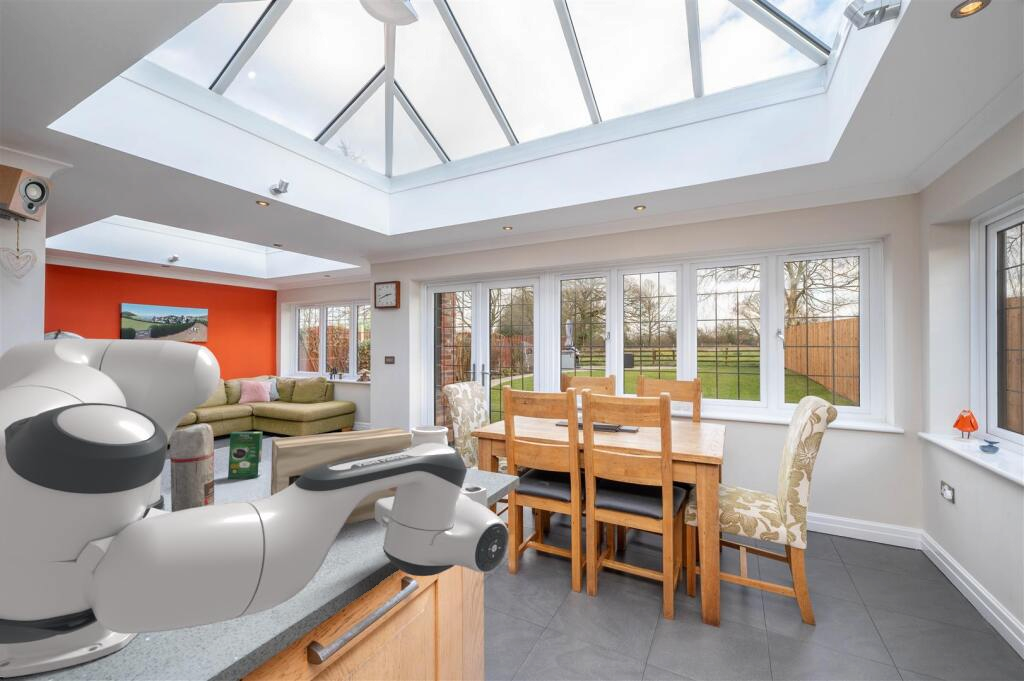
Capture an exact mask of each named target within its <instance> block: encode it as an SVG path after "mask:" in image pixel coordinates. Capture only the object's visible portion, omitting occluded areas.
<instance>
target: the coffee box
mask: <svg viewBox="0 0 1024 681" xmlns="http://www.w3.org/2000/svg"><path fill="white" fill-rule="evenodd" d="M262 450H263V431H232V432H230V437H229V449H228V452H229V454H228V455H229V456H228V468H227V469H228V470H227V471H228V472H227V473H228V474H227V475H228V476H227V479H235V478H236V479H248V478H249V479H255V478H254V477H258V478H259V477H260V476H261V470H262V469H261V468H262V453H263V452H262Z"/></svg>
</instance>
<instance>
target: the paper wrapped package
mask: <svg viewBox="0 0 1024 681" xmlns="http://www.w3.org/2000/svg"><path fill="white" fill-rule="evenodd" d="M214 439H215V438H214V430H213V427H212V425H211V424H208V423H198V424H196V425H193V426H190V427H189V426H188V427H186V428H183V429H177V430H176V429H175V430H174V431H173V433H172V435H171V436H170V446H169V451H168V453H169V460H170V461H169V462H170V489H171V491H170V494H171V495H170V497H171V498H170V500H171V501H170V502H171V503H170V504H171V507H170V508H171V511H170V512H175V511H180V510H185V509H190V508H196V507H202V506H208V505H215V469H214V468H215V465H214V464H215V463H214V462H215V450H214V449H215V446H214V444H215V443H214Z"/></svg>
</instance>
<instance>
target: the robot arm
mask: <svg viewBox="0 0 1024 681" xmlns="http://www.w3.org/2000/svg"><path fill="white" fill-rule="evenodd" d="M220 380H221V367H220V364H219V362H218V360H217V357H216V356H215V355H214V354H213V352H212V351H211V350H210V349H209V348H207V347H206V346H205V345H201V344H200V345H199V344H194V343H190V342H183V341H179V340H170V339H127V338H126V339H122V338H121V339H116V338H114V339H112V338H110V339H109V338H71V337H70V338H69V337H68V338H55V339H44V340H37V341H31V342H24V343H23V342H22V343H18V344H14V345H13V346H11V347H10V348H9V349H7V350H6V351H4V353H2V355H1V356H0V676H4V677H3V678H11V677H12V678H13V677H20V676H26V675H32V674H39V673H45V672H49V671H53V670H59V669H63V668H66V667H72V666H76V665H79V664H83V663H86V662H90V661H93V660H96V659H99V658H101V657H105V656H107V655H110V654H112V653H114V652H117V651H120V650H121V649H123V648H124V647H125V646H127V645H128V644H129V643H130V642H131V641H132V640H133V639H134V638H135V637H137V636H138V634H145V633H146V634H147V633H159V632H167V631H168V632H169V631H178V630H185V629H191V628H196V627H198V628H199V627H202V626H208V625H213V624H217V623H220V622H227V621H230V620H234V619H238V618H242V617H246V616H251V615H255V614H258V613H261V612H264V611H267V610H271V609H272V608H275V607H278V606H280V605H282V604H284V603H285V602H288V601H289V600H291V599H292V598H294V597H296V596H297V595H298V594H299V593H301V592H302V591H303V589H304V588H306V587H307V585H308V584H309V583H310V582H311V581H312V580H313V579H314V577H315V576H316V574H317V573H318V572H319V570H320V569H321V567H322V566H323V564H324V562H325V561H326V559H327V556H328V554H329V553H330V550H331V549H332V546H333V545H334V542H335V540H336V538H337V536H338V535H339V533H340V531H341V529H342V527H343V526H344V525H345V524H344V523H345V521H346V520H347V518H348V517H349V515H350V514H351V512H352V511H353V509H354V508H355V507H356V506H357V505H358V503H359V502H360V501H361V500H362V499H364V498H365V497H366V496H368V495H369V494H371V493H374V492H378V491H382V490H386V489H389V488H393V487H397V489H396V493H395V496H393V497H388V498H382V499H379V500H377V502H376V503H375V518H374V520H375V522H377V523H378V524H380V525H381V526H382V527H384V528H386V532H385V534H384V539H383V545H382V550H383V552H384V554H385V556H386V558H387V559H388V560H389V561H390V563H391V564H392V565H394V566H395V567H396V568H397V569H398V570H400V571H401V572H403V573H406V574H408V575H411V576H416V577H429V576H435V575H438V574H441V573H443V572H445V571H448V570H450V569H452V568H453V567H455V566H460V567H464V568H467V569H469V570H472V571H473V572H477V573H480V574H481V573H490V572H492V571H493V570H495V569H496V568H497V567H498V566H499V565H500V564H501V562H502V561H503V559H504V558H505V555H506V552H507V549H508V545H509V544H508V543H509V539H510V538H509V536H510V535H509V534H510V533H509V530H508V527H507V525H506V524H505V522H504V521H503V520H502V519H501V518H500V517H499V516H498V515H497V514H496V513H495V512H493V511H492V510H490V508H488V492H487V488H486V487H484V486H480V485H478V484H476V483H473V482H465V479H466V475H467V471H468V468H467V466H466V463H465V461H464V460H463V458H462V456H461V454H460V452H459V451H458V449H456V448H454V447H451V446H449V445H448V446H447V445H443V444H439V443H426V444H419V445H415V446H412V447H409V448H406V449H403V450H400V451H395V452H389V453H384V454H378V455H372V456H367V457H361V458H356V459H350V460H345V461H340V462H336V463H331V464H327V465H323V466H319V467H316V468H313V469H310V470H307V471H305V472H304V473H303V474H302V475H301V476H300V477H299V478H298V479H297V480H296V482H295V483H293V484H292V485H290V486H289V487H287V488H285V489H284V490H282V491H280V492H278V493H276V494H274V495H271V494H270V496H266V497H263V498H260V499H255V500H252V501H251V500H250V501H240V502H237V501H236V502H227V503H218V504H217V503H216V504H214V505H208V506H202V507H196V508H190V509H185V510H180V511H175V512H172V511H166V510H165V509H166V508H165V507H166V505H165V499H164V496H163V495H162V494H161V493H162V475H163V470H164V467H165V463H166V458H167V454H168V453H167V452H168V446H169V445H168V443H169V441H170V439H171V435H172V433H173V431H175V430H176V429H177V427H179V426H178V425H180V424H181V422H182V421H183V420H184V419H185V418H186V417H187V416H188V415H189V414H190V413H192V412H193V411H194V410H195V409H197V408H199V407H200V406H202V405H203V404H205V403H206V402H207V401H208V400H209V399H210V398H212V396H213V395H214V394H215V392H216V390H217V388H218V386H219V383H220Z"/></svg>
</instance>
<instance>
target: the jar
mask: <svg viewBox="0 0 1024 681" xmlns="http://www.w3.org/2000/svg"><path fill="white" fill-rule="evenodd" d="M448 432H449V427H446V426H442V425H419V426H416V427H412V428H411V434H412V445H411V447H412V446H415V445H419V444H426V443H439V444H443V445H447V446H449V445H448V444H449V443H448V436H447V433H448Z"/></svg>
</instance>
